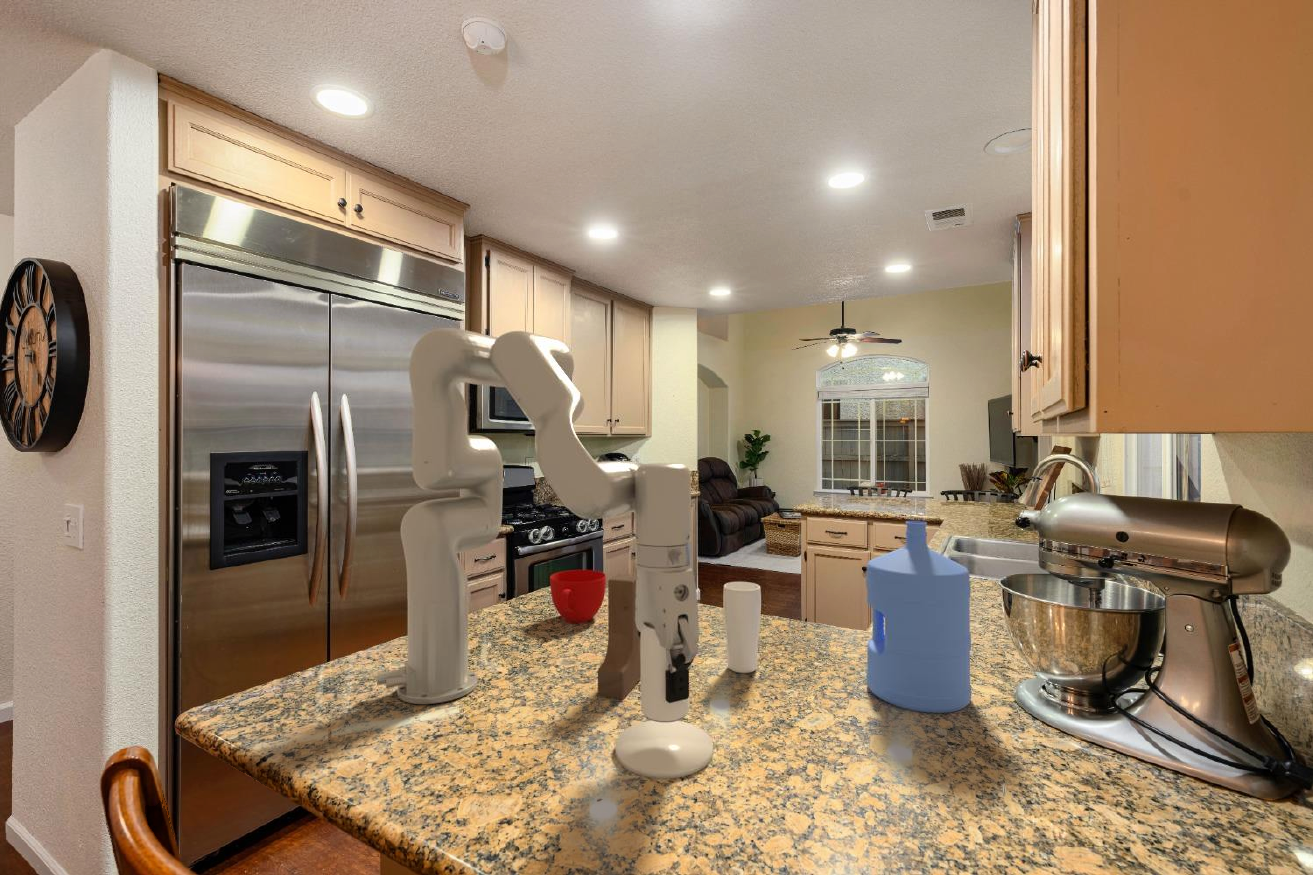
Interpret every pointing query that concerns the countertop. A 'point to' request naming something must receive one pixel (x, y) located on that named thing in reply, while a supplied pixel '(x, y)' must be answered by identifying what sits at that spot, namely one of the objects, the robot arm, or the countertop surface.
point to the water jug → (919, 627)
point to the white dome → (664, 749)
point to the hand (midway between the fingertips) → (664, 688)
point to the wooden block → (620, 640)
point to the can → (657, 680)
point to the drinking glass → (742, 624)
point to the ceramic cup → (578, 594)
